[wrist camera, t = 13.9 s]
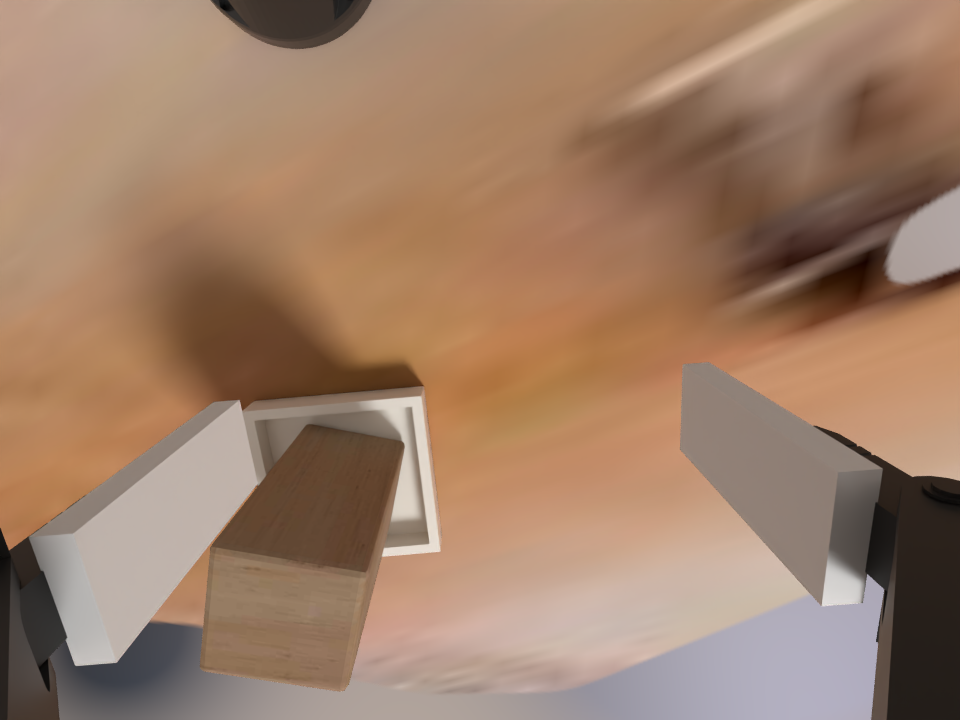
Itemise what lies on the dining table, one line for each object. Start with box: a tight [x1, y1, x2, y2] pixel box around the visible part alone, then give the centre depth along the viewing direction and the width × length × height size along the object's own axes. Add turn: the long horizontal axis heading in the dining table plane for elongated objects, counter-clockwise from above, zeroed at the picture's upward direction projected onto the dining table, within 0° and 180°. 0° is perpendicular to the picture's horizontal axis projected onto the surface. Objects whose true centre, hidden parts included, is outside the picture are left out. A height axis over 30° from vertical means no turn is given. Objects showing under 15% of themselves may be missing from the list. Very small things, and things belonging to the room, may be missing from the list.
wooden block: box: [200, 424, 405, 691], centre depth 43 cm, size 10×10×20 cm
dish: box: [242, 386, 442, 557], centre depth 52 cm, size 17×17×3 cm
